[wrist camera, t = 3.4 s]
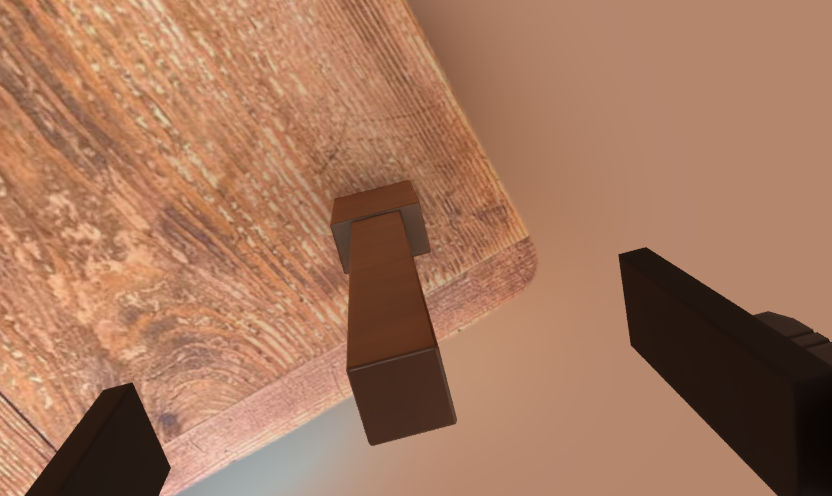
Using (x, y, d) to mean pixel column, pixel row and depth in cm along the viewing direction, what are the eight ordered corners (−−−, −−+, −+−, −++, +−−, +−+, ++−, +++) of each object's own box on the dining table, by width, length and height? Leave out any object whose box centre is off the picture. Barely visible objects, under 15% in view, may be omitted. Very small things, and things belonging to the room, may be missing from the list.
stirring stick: (409, 179, 31) (475, 331, 14) (420, 223, 32) (495, 419, 14) (333, 198, 31) (305, 376, 14) (346, 242, 32) (334, 461, 14)
